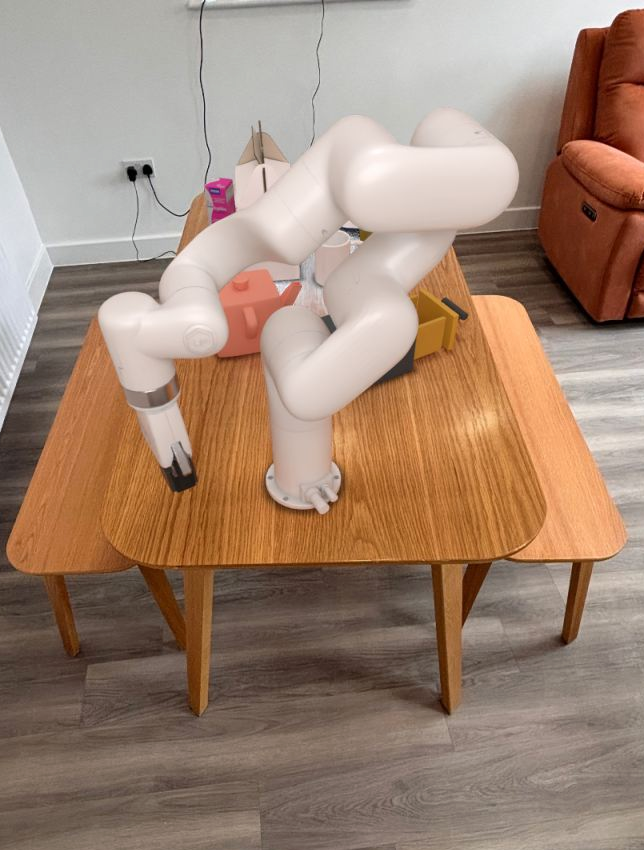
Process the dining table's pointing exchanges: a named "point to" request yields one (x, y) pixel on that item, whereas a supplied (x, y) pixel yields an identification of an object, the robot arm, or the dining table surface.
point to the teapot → (251, 309)
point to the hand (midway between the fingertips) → (180, 476)
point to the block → (167, 472)
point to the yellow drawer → (435, 323)
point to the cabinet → (397, 370)
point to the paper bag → (261, 188)
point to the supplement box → (219, 198)
